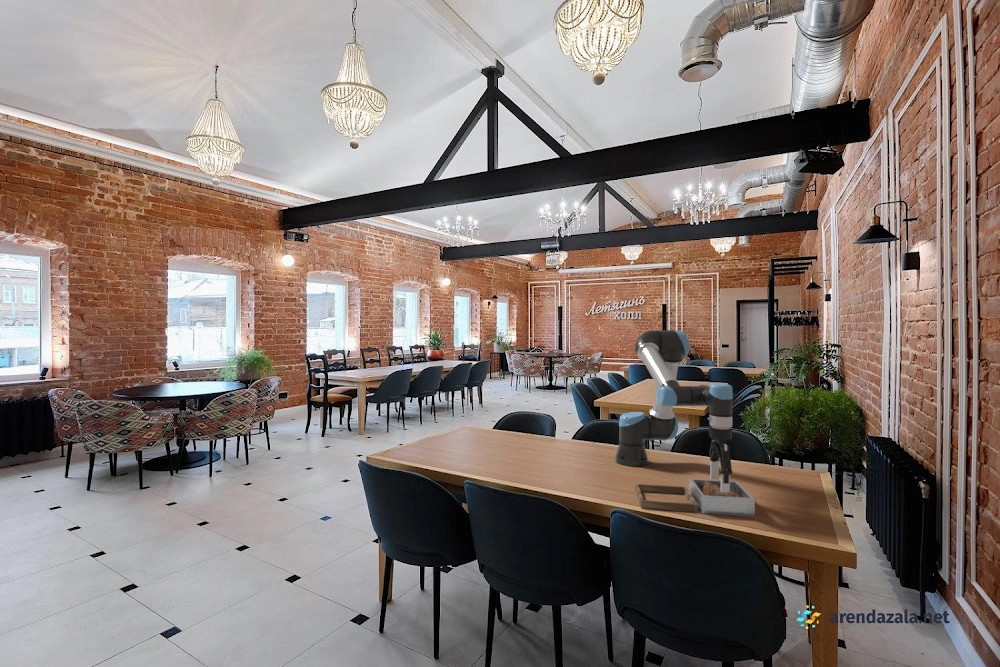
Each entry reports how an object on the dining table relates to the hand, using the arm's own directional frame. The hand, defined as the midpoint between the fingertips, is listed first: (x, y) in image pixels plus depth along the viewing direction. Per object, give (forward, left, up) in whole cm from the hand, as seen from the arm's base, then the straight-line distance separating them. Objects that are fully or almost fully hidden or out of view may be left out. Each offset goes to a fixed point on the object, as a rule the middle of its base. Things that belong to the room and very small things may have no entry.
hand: (719, 485), depth 170 cm
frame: (-1, -19, -7) cm, 20 cm away
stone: (0, +1, -6) cm, 6 cm away
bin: (0, 0, -7) cm, 7 cm away
